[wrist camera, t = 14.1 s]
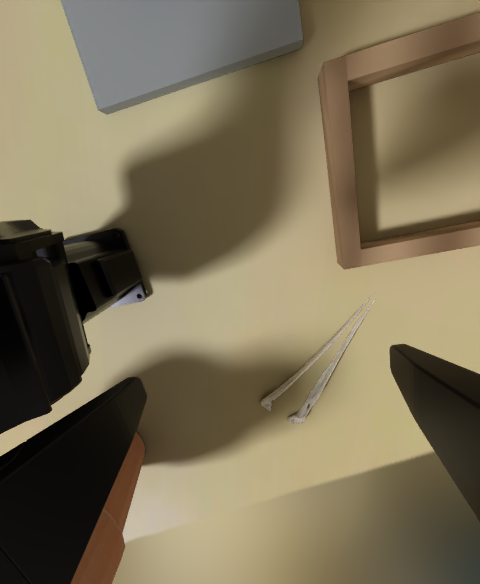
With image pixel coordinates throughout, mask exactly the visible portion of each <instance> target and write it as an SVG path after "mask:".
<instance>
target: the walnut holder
mask: <svg viewBox="0 0 480 584" xmlns="http://www.w3.org/2000/svg"><path fill="white" fill-rule="evenodd" d="M478 52H480V12H478V13H475V14H472V15H469V16H466V17H463V18H460V19H456V20H453V21H450V22H447V23H444V24H441V25H438V26H435V27H432V28H429V29H426V30H423V31H419V32H416V33H413V34H410V35H407V36H404V37H401V38H398V39H395V40H392V41H389V42H386V43H383V44H379V45H376V46H373V47H370V48H367V49H364V50H361V51H358V52H355V53H352V54H349V55H346V56H342V57H339V58H336V59H333V60H330V61H327V62H324V64H323V66H322V69H321V72H320V74H319V77H318V84H319V93H320V102H321V112H322V121H323V130H324V140H325V149H326V159H327V168H328V177H329V187H330V196H331V205H332V215H333V224H334V234H335V243H336V252H337V262H338V264H339V265H340V266H341V267H342V268H343V269H350V268H355V267H361V266H366V265H372V264H378V263H383V262H389V261H394V260H400V259H406V258H411V257H417V256H422V255H428V254H434V253H439V252H445V251H450V250H456V249H462V248H467V247H473V246H478V245H480V220H479V221H474V222H469V223H464V224H458V225H453V226H448V227H443V228H438V229H433V230H428V231H422V232H417V233H412V234H407V235H402V236H397V237H392V238H386V239H381V240H376V241H371V242H366V243H361V244H360V234H359V221H358V207H357V194H356V181H355V168H354V155H353V142H352V129H351V116H350V103H349V91H351V90H355V89H358V88H361V87H365V86H368V85H371V84H375V83H378V82H381V81H385V80H388V79H391V78H395V77H398V76H401V75H405V74H408V73H411V72H415V71H418V70H422V69H425V68H428V67H432V66H435V65H438V64H442V63H445V62H448V61H452V60H455V59H458V58H462V57H465V56H468V55H472V54H475V53H478Z"/></svg>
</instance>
